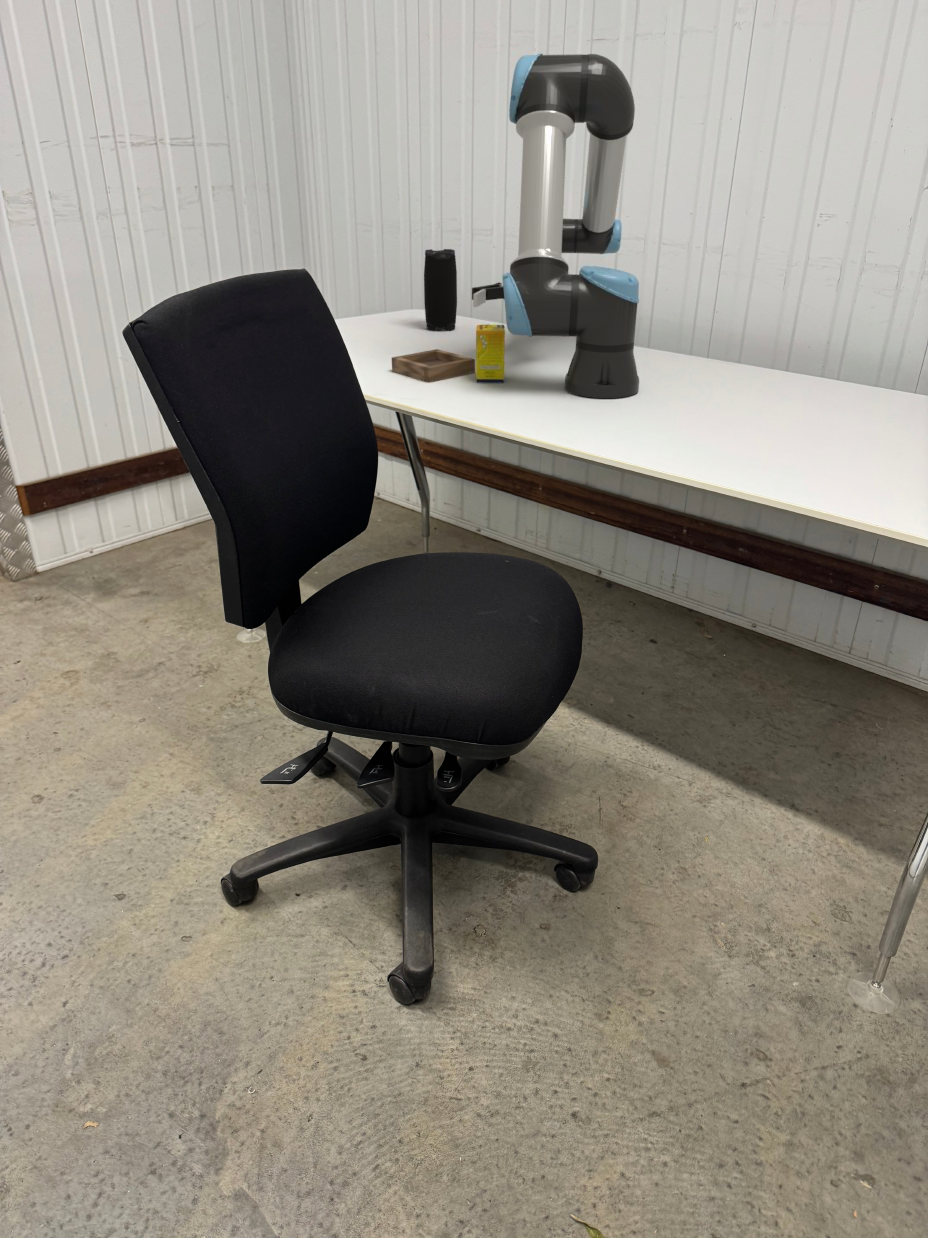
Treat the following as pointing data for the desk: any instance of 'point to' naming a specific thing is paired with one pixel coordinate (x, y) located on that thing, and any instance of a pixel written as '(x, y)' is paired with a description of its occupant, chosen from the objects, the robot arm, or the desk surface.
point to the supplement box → (490, 353)
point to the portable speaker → (440, 289)
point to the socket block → (433, 365)
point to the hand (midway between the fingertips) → (504, 302)
